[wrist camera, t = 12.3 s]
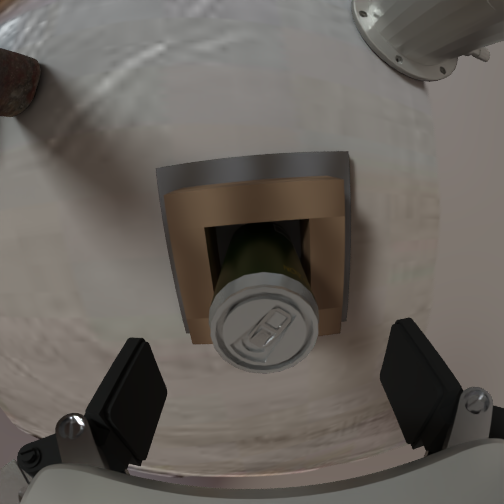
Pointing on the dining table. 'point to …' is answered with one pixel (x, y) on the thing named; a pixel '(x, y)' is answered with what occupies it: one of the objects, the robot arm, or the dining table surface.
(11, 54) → the brown cylinder
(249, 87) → the dining table surface
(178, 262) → the well block
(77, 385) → the dining table surface
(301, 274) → the beer can
